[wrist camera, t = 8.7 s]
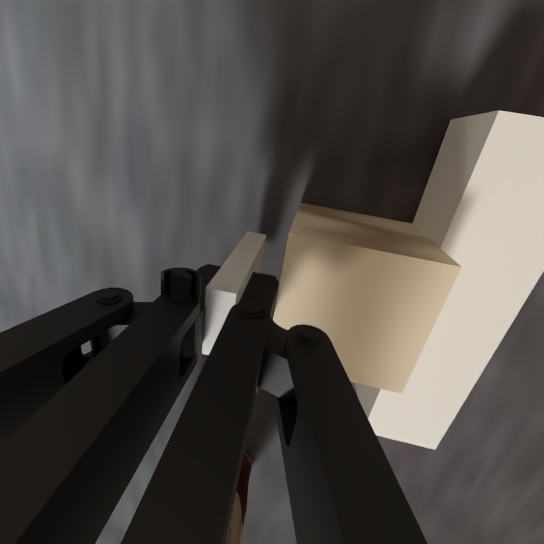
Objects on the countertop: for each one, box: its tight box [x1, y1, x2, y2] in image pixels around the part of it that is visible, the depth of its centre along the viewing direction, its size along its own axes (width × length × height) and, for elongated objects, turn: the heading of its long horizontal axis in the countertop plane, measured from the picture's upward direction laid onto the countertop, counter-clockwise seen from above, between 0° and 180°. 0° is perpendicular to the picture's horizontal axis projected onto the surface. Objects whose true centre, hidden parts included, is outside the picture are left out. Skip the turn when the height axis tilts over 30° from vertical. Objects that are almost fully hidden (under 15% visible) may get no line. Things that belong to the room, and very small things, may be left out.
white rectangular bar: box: [356, 110, 544, 450], centre depth 15 cm, size 4×16×4 cm, turn 171°
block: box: [273, 203, 461, 394], centre depth 14 cm, size 6×6×6 cm
